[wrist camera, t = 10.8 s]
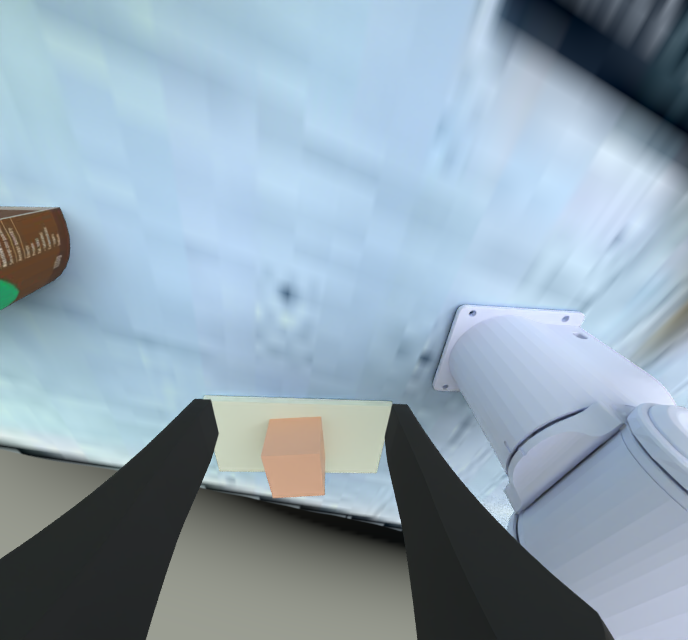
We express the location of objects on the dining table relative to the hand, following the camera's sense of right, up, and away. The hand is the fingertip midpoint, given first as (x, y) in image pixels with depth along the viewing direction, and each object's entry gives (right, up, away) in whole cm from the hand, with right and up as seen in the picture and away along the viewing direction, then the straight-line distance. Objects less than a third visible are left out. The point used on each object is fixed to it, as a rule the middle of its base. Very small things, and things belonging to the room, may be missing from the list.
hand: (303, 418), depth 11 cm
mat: (-3, -7, +15) cm, 17 cm away
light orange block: (-3, -7, +14) cm, 16 cm away
